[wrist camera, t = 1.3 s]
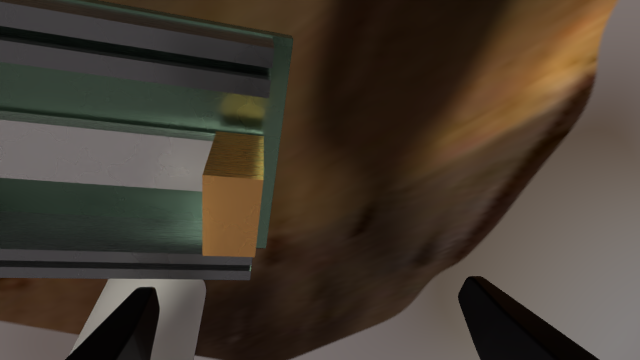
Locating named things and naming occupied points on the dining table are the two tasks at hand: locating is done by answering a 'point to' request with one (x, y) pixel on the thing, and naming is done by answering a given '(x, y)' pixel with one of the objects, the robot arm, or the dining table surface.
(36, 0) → the green plate fixture
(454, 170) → the dining table surface
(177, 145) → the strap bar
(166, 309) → the cylindrical container
